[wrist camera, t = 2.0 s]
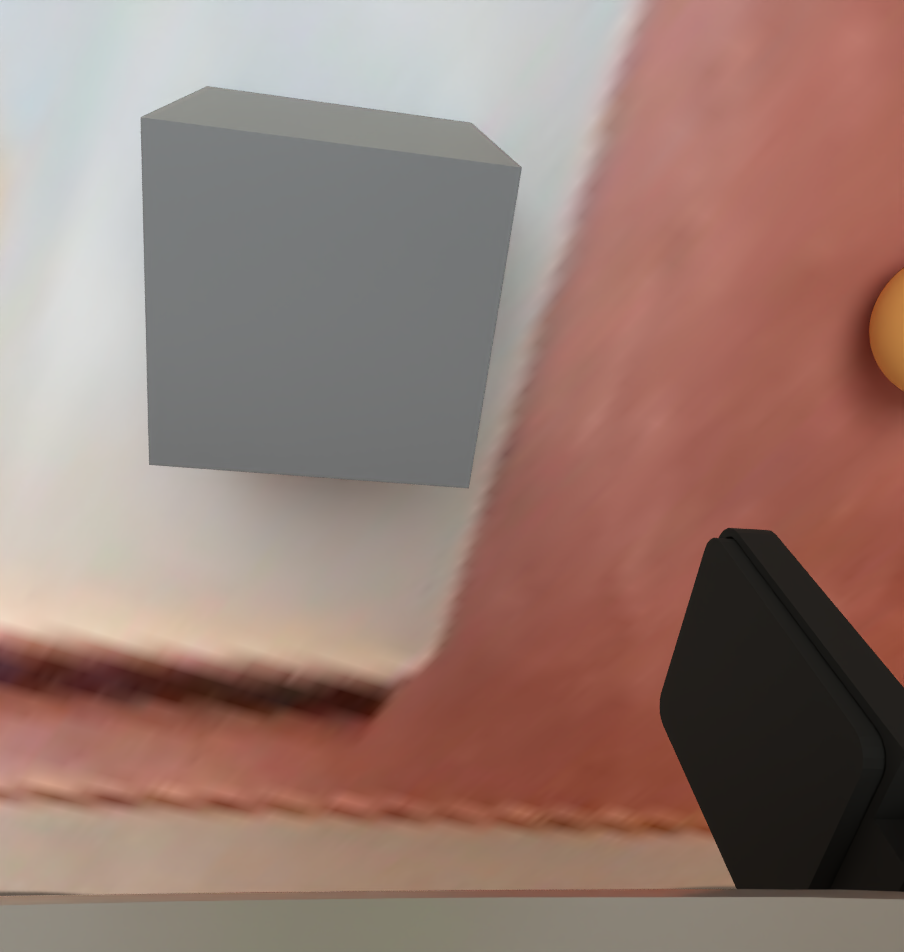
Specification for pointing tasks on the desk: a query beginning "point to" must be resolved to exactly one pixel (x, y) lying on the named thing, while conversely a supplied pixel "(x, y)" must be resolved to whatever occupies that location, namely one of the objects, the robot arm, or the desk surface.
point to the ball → (889, 330)
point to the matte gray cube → (320, 286)
